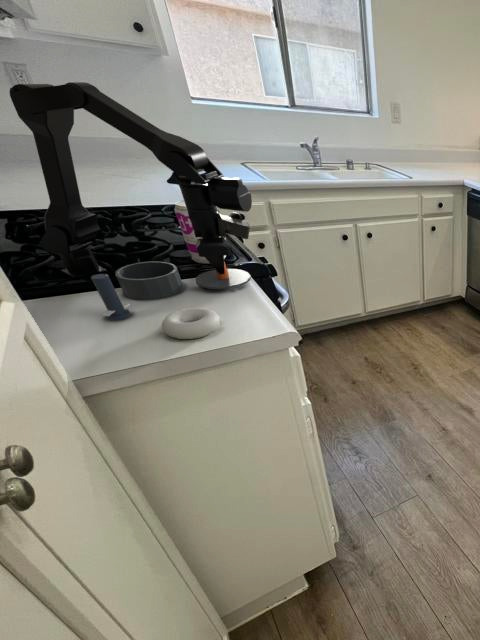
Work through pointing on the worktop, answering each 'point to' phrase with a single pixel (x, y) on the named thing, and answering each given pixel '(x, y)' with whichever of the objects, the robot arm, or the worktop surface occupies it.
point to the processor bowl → (149, 280)
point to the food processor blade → (110, 298)
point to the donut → (191, 323)
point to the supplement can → (188, 232)
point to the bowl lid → (223, 279)
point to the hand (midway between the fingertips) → (221, 271)
